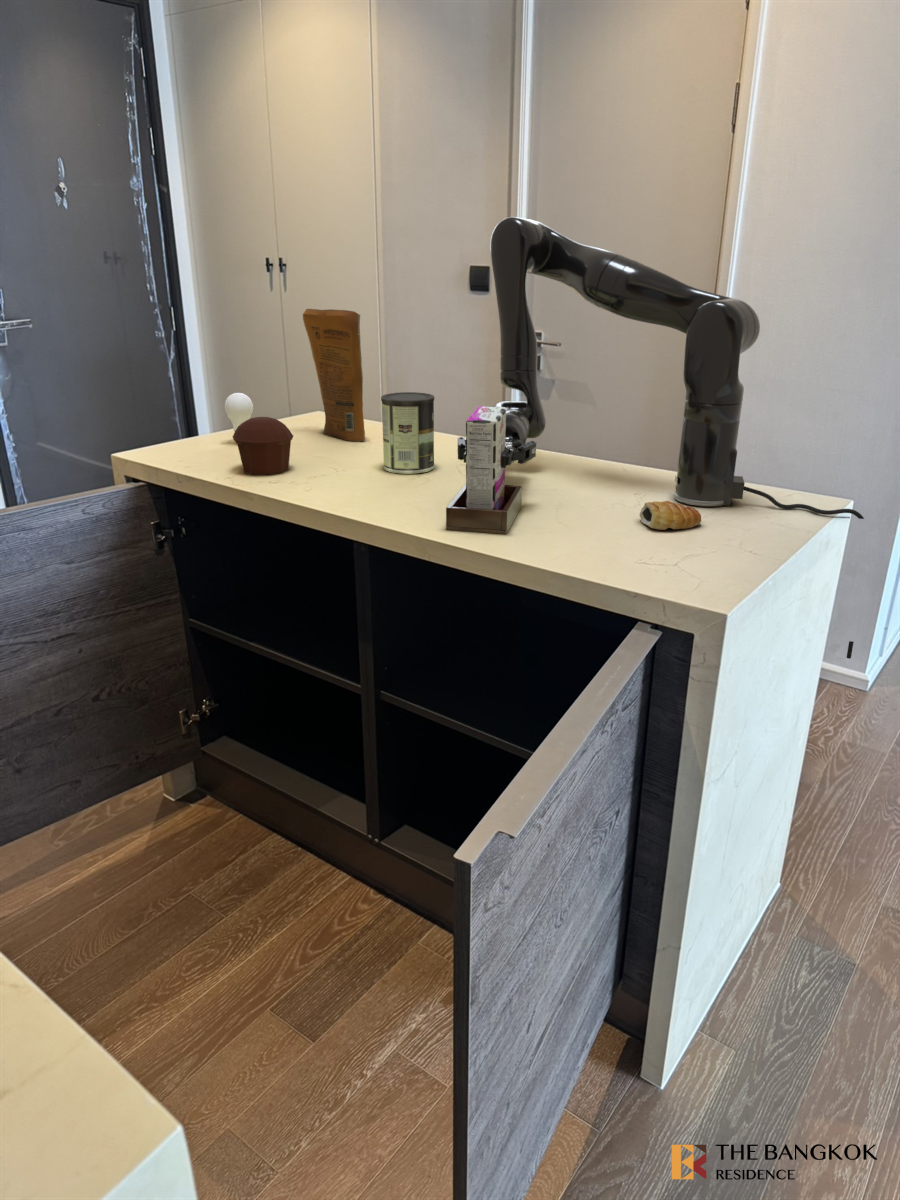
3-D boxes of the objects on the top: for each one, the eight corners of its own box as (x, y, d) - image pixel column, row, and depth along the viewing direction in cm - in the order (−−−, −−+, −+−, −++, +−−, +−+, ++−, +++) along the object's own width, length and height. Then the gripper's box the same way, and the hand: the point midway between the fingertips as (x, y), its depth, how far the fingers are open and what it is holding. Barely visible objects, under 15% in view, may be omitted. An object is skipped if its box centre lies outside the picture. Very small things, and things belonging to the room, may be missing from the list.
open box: (521, 506, 147) (522, 485, 146) (506, 534, 133) (507, 511, 132) (466, 502, 149) (466, 482, 148) (445, 529, 135) (446, 507, 134)
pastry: (689, 517, 142) (692, 494, 140) (708, 530, 136) (711, 506, 134) (635, 520, 140) (637, 497, 139) (652, 533, 134) (654, 509, 132)
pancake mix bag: (352, 445, 190) (346, 312, 179) (306, 431, 203) (299, 306, 193) (377, 441, 194) (373, 310, 183) (331, 427, 207) (324, 305, 197)
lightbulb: (261, 442, 193) (257, 392, 188) (242, 447, 188) (237, 396, 184) (242, 438, 196) (237, 389, 191) (222, 443, 191) (217, 393, 187)
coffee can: (424, 460, 178) (423, 390, 172) (442, 471, 169) (442, 398, 163) (376, 464, 174) (374, 393, 169) (392, 476, 165) (390, 402, 160)
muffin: (306, 465, 173) (303, 415, 169) (276, 479, 163) (272, 426, 159) (255, 460, 177) (251, 411, 173) (223, 473, 167) (218, 421, 163)
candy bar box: (475, 502, 147) (477, 405, 140) (504, 504, 146) (508, 406, 139) (463, 522, 136) (464, 418, 130) (494, 524, 136) (497, 420, 129)
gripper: (464, 414, 153) (442, 434, 137) (545, 418, 150) (531, 439, 134) (463, 456, 156) (442, 480, 140) (543, 461, 153) (529, 486, 137)
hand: (485, 460), depth 137 cm, fingers closed on candy bar box, 5 cm apart
